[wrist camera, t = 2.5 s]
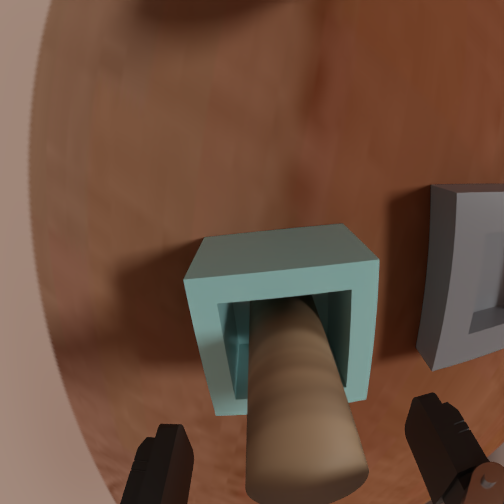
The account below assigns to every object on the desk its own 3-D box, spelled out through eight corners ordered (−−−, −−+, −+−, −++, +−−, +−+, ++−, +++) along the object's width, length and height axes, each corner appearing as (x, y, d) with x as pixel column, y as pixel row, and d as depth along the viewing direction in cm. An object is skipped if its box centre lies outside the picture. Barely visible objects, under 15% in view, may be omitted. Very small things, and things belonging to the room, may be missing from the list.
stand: (430, 184, 17) (456, 192, 14) (541, 184, 17) (566, 191, 14) (415, 347, 21) (431, 371, 18) (520, 317, 21) (538, 333, 18)
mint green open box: (204, 237, 18) (183, 279, 13) (342, 223, 18) (379, 259, 12) (224, 351, 21) (216, 415, 15) (342, 338, 21) (366, 399, 15)
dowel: (246, 275, 18) (237, 461, 7) (310, 269, 18) (378, 443, 7) (253, 329, 19) (252, 512, 8) (312, 323, 19) (359, 499, 8)
